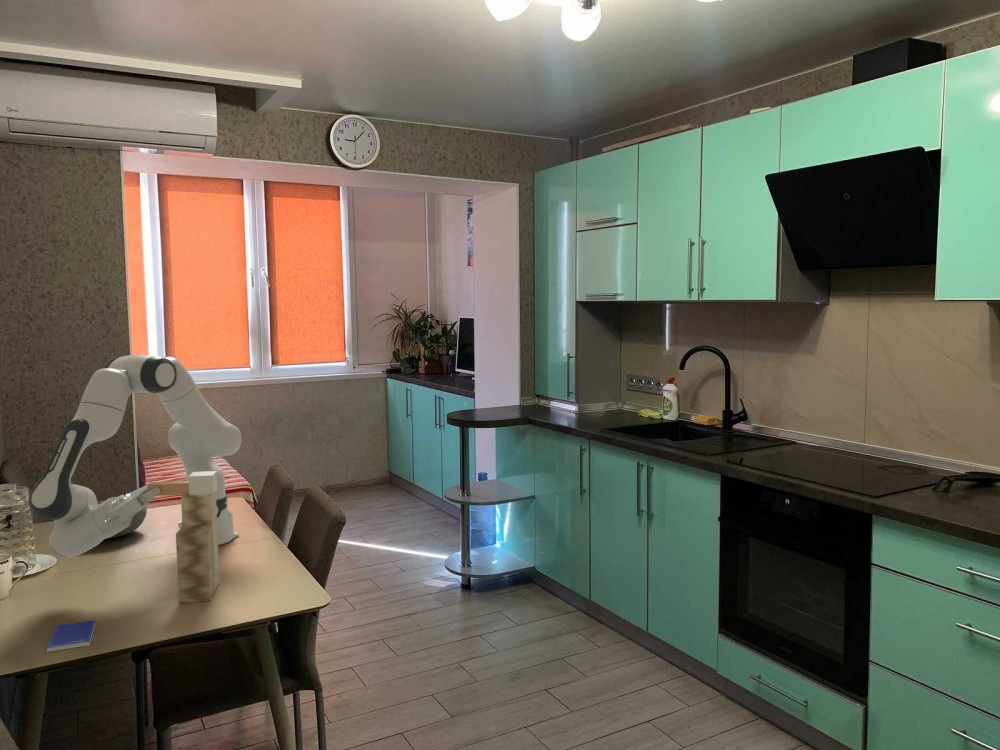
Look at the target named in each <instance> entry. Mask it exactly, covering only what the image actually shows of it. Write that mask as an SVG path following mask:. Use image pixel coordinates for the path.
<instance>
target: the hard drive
mask: <svg viewBox="0 0 1000 750" xmlns="http://www.w3.org/2000/svg"><path fill="white" fill-rule="evenodd" d="M96 625H97V622H96V620H95V619H94V620H93V619H92V620H84V621H79V622H72V623H71V622H70V623H64V624H58V625H56V626H55V628H54V631H53V633H52V636H51V638H50V640H49V642H48V645H47V647H46V652H47V653H48V652H53V651H54V652H55V651H60V650H67V649H73V648H80V647H85V646H87V647H88V646H90V644H91V641H92V637H93V634H94V631H95V628H96Z"/></svg>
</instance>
